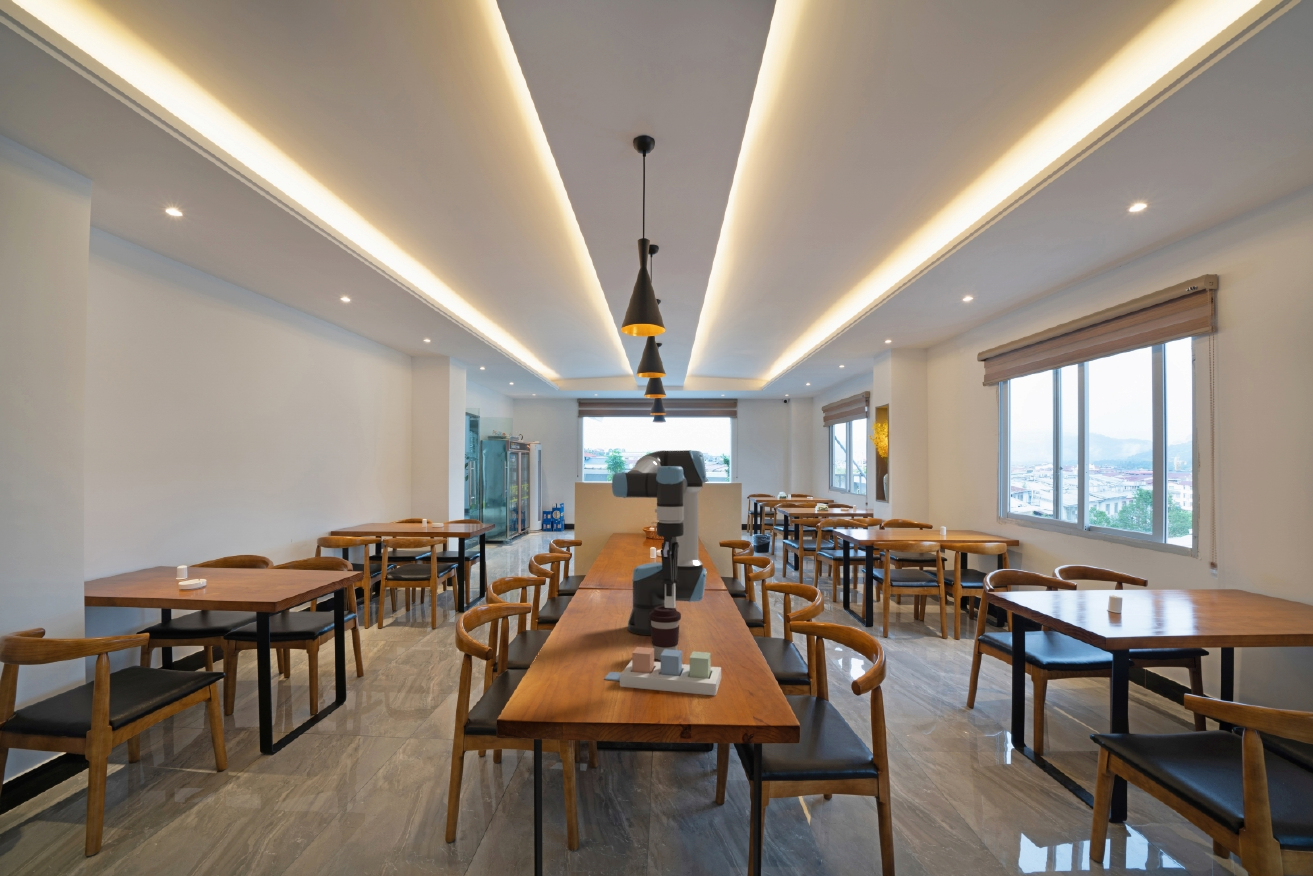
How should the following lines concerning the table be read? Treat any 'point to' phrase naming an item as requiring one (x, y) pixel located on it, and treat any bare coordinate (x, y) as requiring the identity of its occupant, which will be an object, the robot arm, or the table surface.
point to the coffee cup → (664, 629)
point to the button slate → (671, 662)
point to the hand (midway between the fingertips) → (670, 607)
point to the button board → (671, 680)
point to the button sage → (700, 665)
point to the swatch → (613, 676)
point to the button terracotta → (643, 660)
